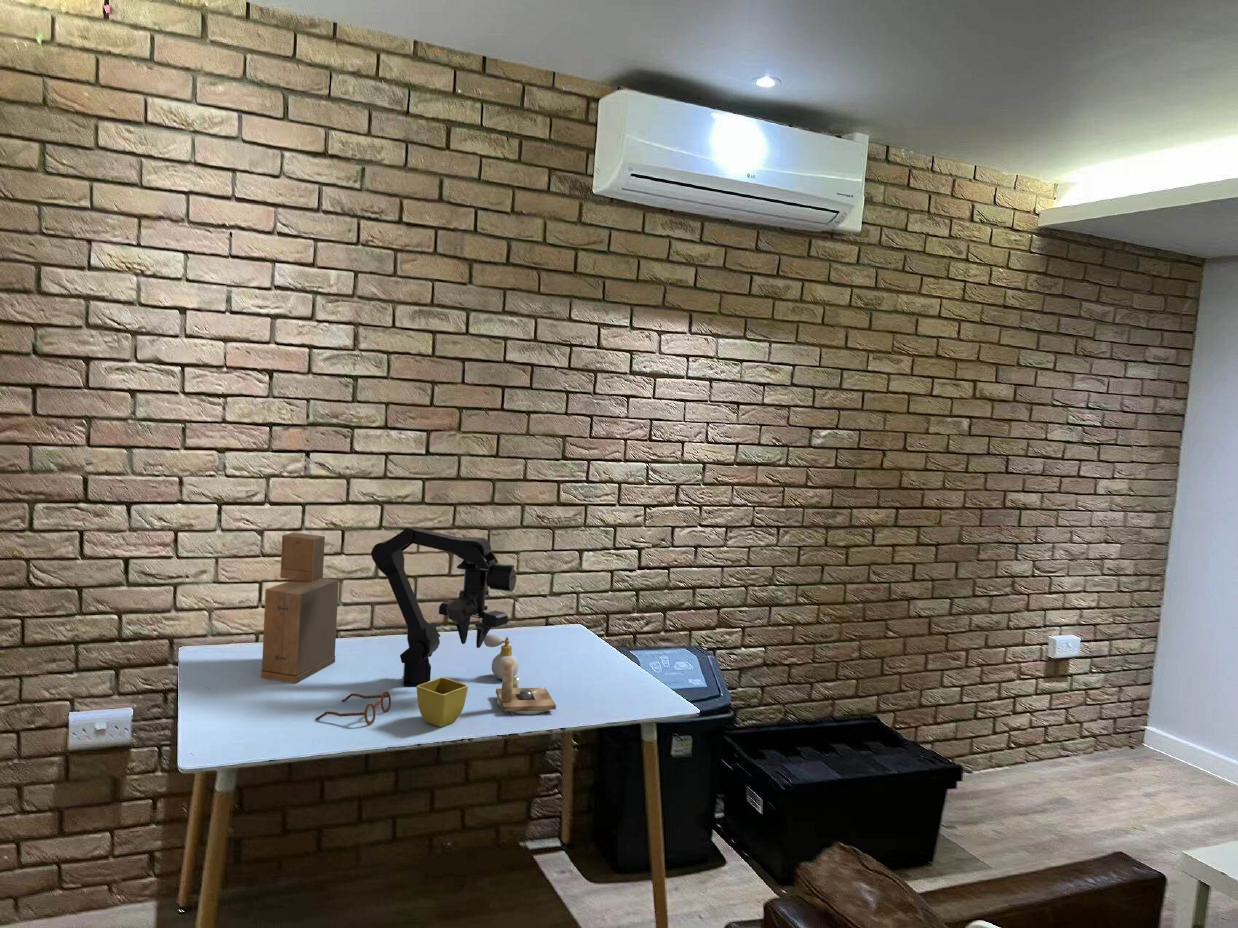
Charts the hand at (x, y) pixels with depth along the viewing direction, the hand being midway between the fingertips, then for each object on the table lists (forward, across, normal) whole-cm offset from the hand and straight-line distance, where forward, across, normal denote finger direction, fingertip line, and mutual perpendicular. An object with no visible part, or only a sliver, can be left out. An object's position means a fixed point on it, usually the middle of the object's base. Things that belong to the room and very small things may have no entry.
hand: (470, 645), depth 231 cm
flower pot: (+12, +9, -21) cm, 26 cm away
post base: (+12, +16, +2) cm, 20 cm away
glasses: (+13, -10, -30) cm, 34 cm away
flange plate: (+11, +17, +1) cm, 20 cm away
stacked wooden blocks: (+12, -44, -17) cm, 49 cm away
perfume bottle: (+12, 0, +13) cm, 18 cm away
